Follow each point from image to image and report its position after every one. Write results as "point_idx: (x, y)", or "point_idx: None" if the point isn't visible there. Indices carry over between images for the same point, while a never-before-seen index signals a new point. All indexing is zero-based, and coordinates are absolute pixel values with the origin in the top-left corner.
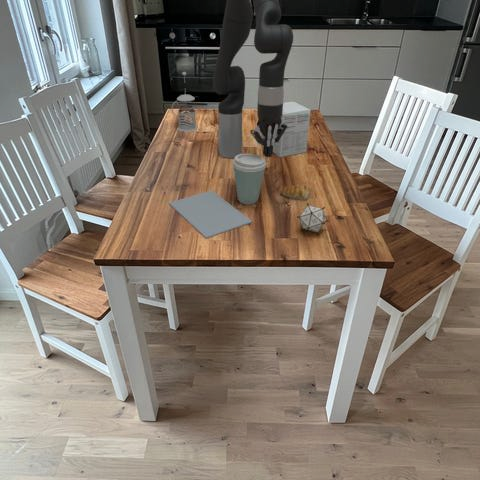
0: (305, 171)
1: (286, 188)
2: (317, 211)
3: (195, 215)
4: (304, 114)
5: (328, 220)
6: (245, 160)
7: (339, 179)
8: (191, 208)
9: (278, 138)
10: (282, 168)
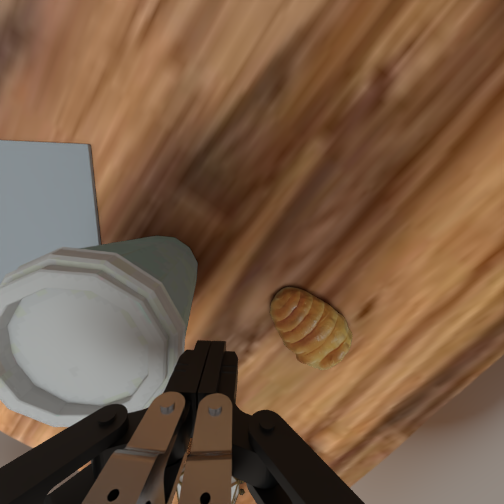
0: (470, 216)
1: (286, 316)
2: None
3: None
4: None
5: (243, 493)
6: (59, 335)
7: (495, 324)
8: None
9: (274, 499)
10: (430, 141)
